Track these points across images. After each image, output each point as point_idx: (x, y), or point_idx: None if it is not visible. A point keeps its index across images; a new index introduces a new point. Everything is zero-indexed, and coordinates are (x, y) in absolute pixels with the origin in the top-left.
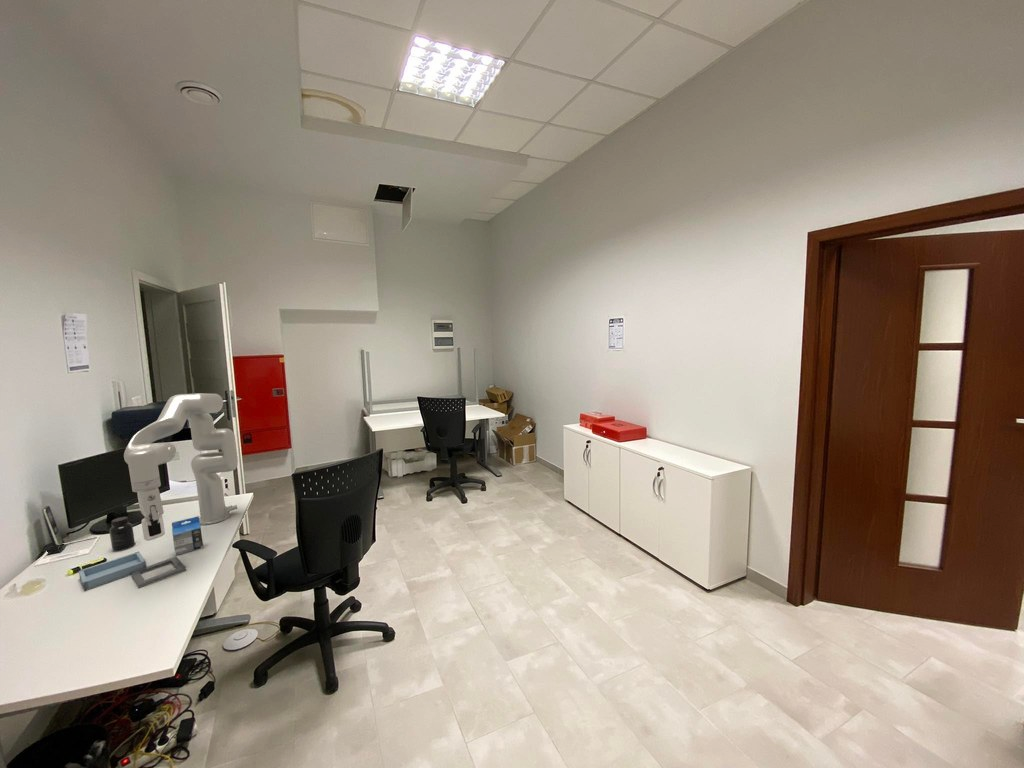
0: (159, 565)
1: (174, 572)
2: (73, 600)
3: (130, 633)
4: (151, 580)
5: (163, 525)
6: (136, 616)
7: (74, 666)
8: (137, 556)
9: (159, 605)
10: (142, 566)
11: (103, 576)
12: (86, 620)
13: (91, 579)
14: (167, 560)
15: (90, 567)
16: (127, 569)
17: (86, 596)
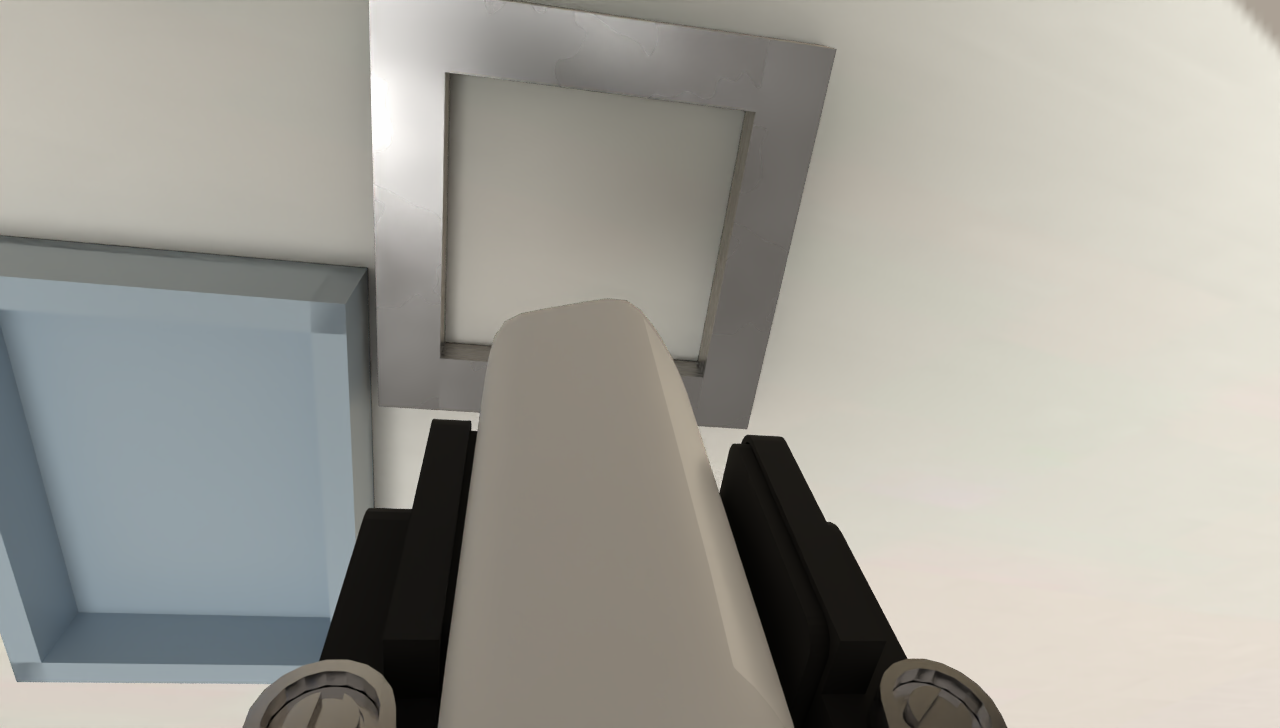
0: (445, 186)
1: (804, 160)
2: None
3: (1270, 558)
4: (765, 342)
5: (675, 420)
6: (1135, 506)
7: (1232, 719)
8: (43, 305)
9: (1174, 395)
10: (356, 316)
11: None
12: None
13: None
14: (415, 99)
15: (13, 624)
16: (356, 436)
17: None
